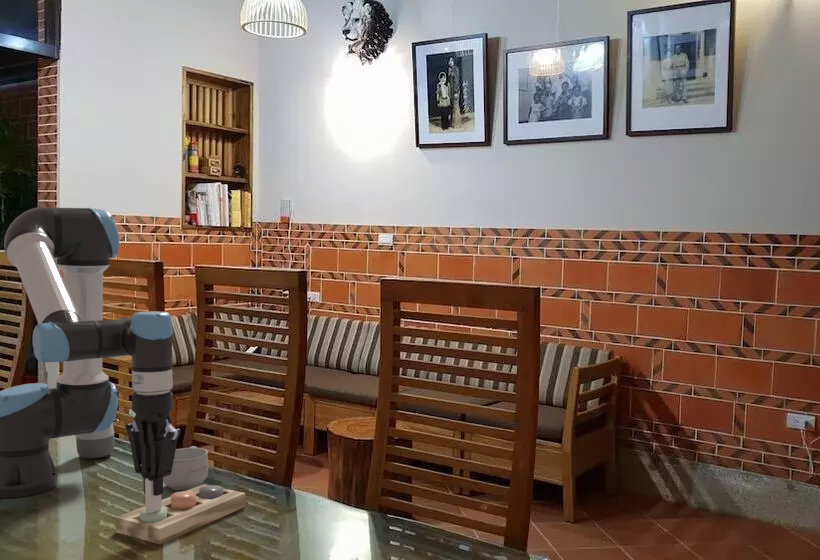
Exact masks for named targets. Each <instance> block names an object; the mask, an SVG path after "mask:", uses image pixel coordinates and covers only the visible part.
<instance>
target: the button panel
mask: <svg viewBox="0 0 820 560" xmlns="http://www.w3.org/2000/svg"><path fill="white" fill-rule="evenodd" d="M210 485H211V484H210ZM210 485H209V484H205V483H204V484H203V483H202V484H201V485H200V486H198V487H195V488H192V489H189V490H186V491H192V492H195V493H196V506H195V507H192V508H190V509H188V510H185V511H181V510H177V509H173V508H171V496H169V497H166V498H163V499H161V507H162V508H165V509H167V518H165V519H163V520H160V521H158V522H156V523H153V524H152V523H148V522H144V521H140V512H141V511H142V510H144V509H145V506H142V507H140V508H137V509H134V510H132V511H130V512H126V513H123V514H121V515H119V516H115V533H117V534H120V535H123V534H124V536H127V535H128V537H131V536H132V537H131V538H134V537H136V538H135V539H138V538H139V539H138V540H142V541H145V540H146V542H150V543H153V544H157V545H162V544H164V543H167V542H169V541H171V540H173V539H175V538H178V537H180V536H182V535H184V534H187V533H189V532H191V531H194V530H196V529H198V528H201V527H202V526H205V525H208V524H210V523H212V522H214V521H216V520H219V519H221V518H224V517H225V516H227V515H230V514H232V513H234V512H237V511H239V510H241V509H244V508H246V492H242V491H237V490H233V489H229V488H228V489H227V488H224V487H223V495H222V496H220V497H217V498H215V499H212V500H211V499H207V498H202V497H199V489H200V488H202V487H205V486H210Z"/></svg>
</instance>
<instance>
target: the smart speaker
mask: <svg viewBox="0 0 820 560" xmlns="http://www.w3.org/2000/svg"><path fill="white" fill-rule="evenodd" d="M75 442H76V451H77V452H76V453H77V455H78V456H79V457H80V458H82V460H83V459H84V460H88V461H89V460H101V459H105V458H107V457H109V456H111V455H112V453H113V452H114V448H115V445H116V444H115V431H114V423H112V424H111V426H110V427H109V428H108V429H106V430H102V431H98V432H94V433H91V434H88V433H86V434H79V435H76V441H75Z"/></svg>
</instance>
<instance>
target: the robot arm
mask: <svg viewBox="0 0 820 560" xmlns="http://www.w3.org/2000/svg"><path fill="white" fill-rule="evenodd" d="M3 247H4V252H5V254H6V258H7V259H8V262H9V263H10V264H11V265H12V266H14V267H16V269H17V271H18V274H19V277H20V279H21V282H22V284H23V287H24V289H25V292H26V295H27V297H28V300H29V303H30V305H31V308H32V311H33V313H34V316H35V318H36V321H37V323H38V324H37V325H35V327H34V329H33V332H32V347H33V354H34V357H35V358H36V360H37V361H39V362H41V363H63V372H62V373H61V374H60V375H59V376H58V377H56V387H54V388H53V387H52V388H49V386H48V384H47V383H44V382H35V383H24V384H20V385H15V386H11V387H7V388H5V389H3V390H0V498H2V499H3V498H5V499H8V498H11V499H12V498H21V497H22V498H23V497H28V496H33V495H38V494H41V493H45V492H47V491H49V490H52V489H54V488H55V487H56V486H57V485H58V472H57V470H56V466H55V465H54V461H53V458H52V456H51V454H50V446H49V444H50V443H49V442H50V440H52V439H58V438H63V437H64V438H65V437H70V436H77V435H79V434H86V433H88V434H91V433H94V432H98V431H102V430H106V429H108V428H109V427H110V426H111V424H112V423H113V422H115V419H116V416H117V412H118V407H119V406H118V405H119V396H118V395H117V394H118V389H117V387H116V385H115V384H114V383H113V382H111V381H110V377H109V375H108V374H106V373H105V372H104V371H103V359H104V358H105V359H106V358H117V357H128V356H129V357H131V389H132V391H133V393H132V395H131V410H132V413H135V414H134V415H135V416H134V418H133V419H134V420H133V421H132V422H130V423H127V424H125V425H124V427H125V430H126V432H127V435H128V438H129V443H130V444H129V445H130V449H131V455H132V462H133V467H134V472H135V473H136V474H140V475H141V477H142V478H143V492H144V495H145V498H144V499H145V501H144V502H145V505H144V507H145V512H148V513H153V512H155V511H158V510H160V509H162V507H161V500H162V495H163V493H164V482H163V478H164V477H165V476H168V475H171V473H172V467H173V461H174V456H175V450H176V449H177V445H178V444H177V443H178V440H179V438H180V436H181V434H182V431H181V429H180V428H175V426H173V425H172V420H171V417H170V412H171V411H172V410H173V407H174V406H173V404H174V403H173V400H174V399H173V398H174V397H173V395H174V394H173V392H172V391H171V390H172V389H173V387H174V384H173V381H174V380H173V334H174V329H173V323H172V321H173V320H172V316H171V314H170V313H169V312H167V311H159V310H158V311H154V310H153V311H151V310H150V311H138V312H137V311H136V312H134V314H132V315H131V316H127V317H126V316H124V317H120V318H117V319H103V314H104V313H103V312H104V311H103V310H104V309H103V308H104V307H103V306H104V305H103V304H104V303H103V302H104V300H103V299H104V293H103V292H104V291H103V289H104V272H105V271H106V270H107V269H108V268H109V267H110V265H111V259H113V258H115V257H117V256H118V253H119V249H120V235H119V231H118V226H117V224H116V221H115V219H114V216H113V215H112V214H111V213H110V212H109V211H107V210H105V209H99V208H91V207H86V208H85V207H49V206H39V207H34V208H31V209H29V210H25V211H24V212H23V213H21V214H20V215H18V216H17V217H16V218H15V219H14V220H13V221H12V222H11V223H10V224H9V226H8V228H7V230H6V233H5V236H4V243H3ZM61 271H62V272H63V275H62V273H61ZM113 424H114V423H113Z"/></svg>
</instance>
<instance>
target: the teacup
mask: <svg viewBox="0 0 820 560" xmlns="http://www.w3.org/2000/svg"><path fill="white" fill-rule="evenodd" d="M208 453H209V451H208V449H206V448H202V447H198V446H194V445H192V446H189V447H184V448H182V447H181V448H176V450H175V456H174V461H173V467H172V473H171V475H168V476H165V477H164V478H163V484H165V485H166V486H167V487H169V488H170V489H171V490H174V491H187V490H190V489H192V488H195V487H198V486H200V485H202V484H203V482H205V480H206V479H207V477H208V475H209V459H208V457H209V456H208Z"/></svg>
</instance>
